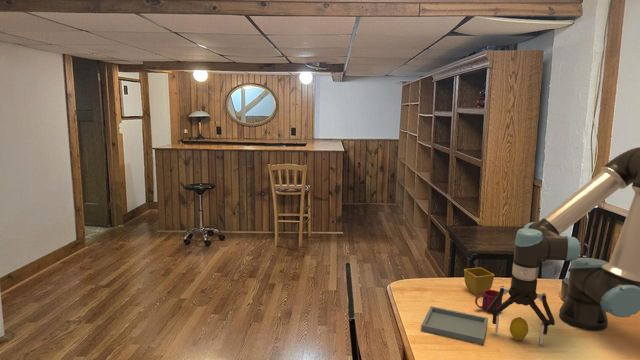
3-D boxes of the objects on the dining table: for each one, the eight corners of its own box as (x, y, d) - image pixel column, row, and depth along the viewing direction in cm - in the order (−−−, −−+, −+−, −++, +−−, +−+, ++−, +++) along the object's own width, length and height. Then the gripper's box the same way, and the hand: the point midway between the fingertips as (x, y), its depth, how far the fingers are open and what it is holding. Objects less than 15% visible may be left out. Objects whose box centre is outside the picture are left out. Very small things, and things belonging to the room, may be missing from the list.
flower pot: (461, 289, 188) (463, 268, 186) (479, 287, 190) (481, 267, 189) (474, 298, 180) (476, 277, 178) (493, 295, 182) (495, 274, 181)
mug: (503, 314, 166) (505, 297, 165) (477, 314, 166) (478, 297, 165) (496, 306, 173) (498, 289, 172) (470, 306, 173) (472, 289, 171)
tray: (487, 323, 159) (487, 317, 159) (483, 345, 145) (483, 339, 144) (430, 311, 167) (430, 306, 167) (421, 331, 153) (421, 325, 153)
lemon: (511, 333, 153) (513, 311, 151) (528, 339, 149) (531, 316, 148) (506, 340, 148) (508, 317, 147) (524, 346, 145) (526, 323, 144)
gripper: (482, 273, 147) (477, 334, 150) (569, 288, 137) (561, 352, 140) (484, 266, 153) (479, 324, 157) (567, 279, 143) (559, 341, 147)
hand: (517, 337), depth 149 cm, fingers open, 13 cm apart
